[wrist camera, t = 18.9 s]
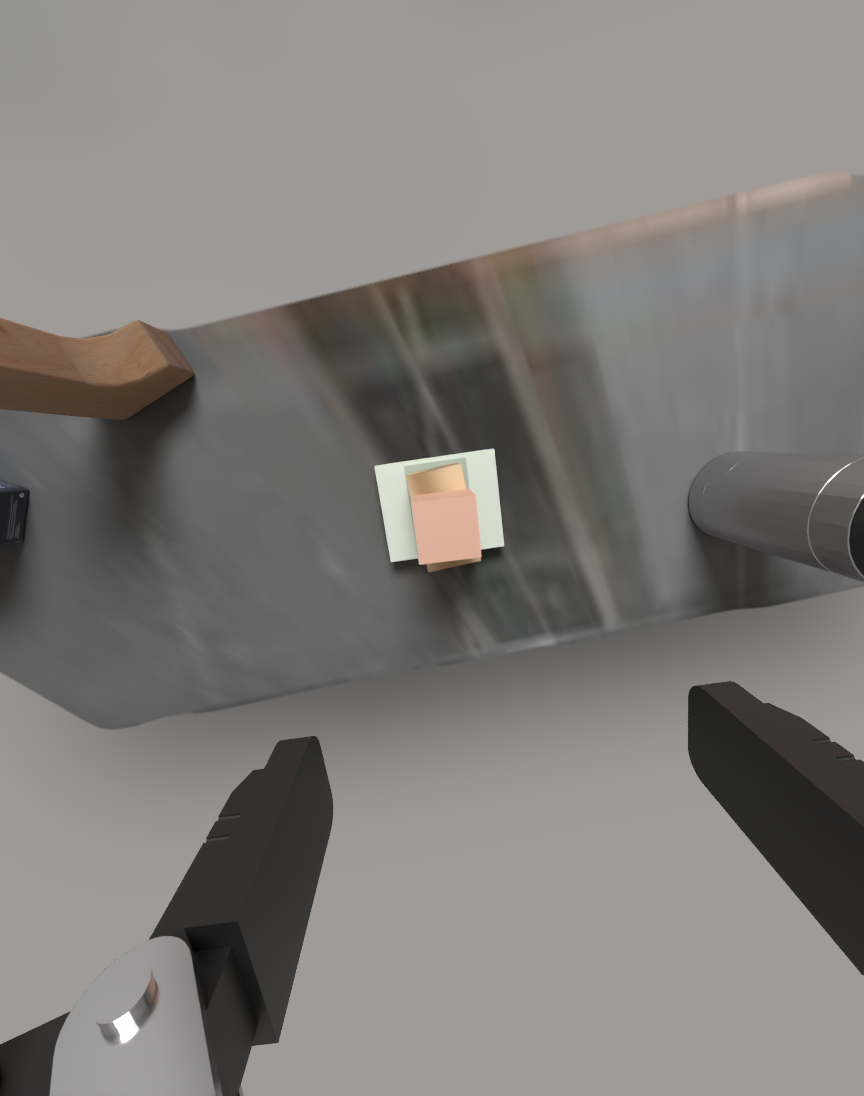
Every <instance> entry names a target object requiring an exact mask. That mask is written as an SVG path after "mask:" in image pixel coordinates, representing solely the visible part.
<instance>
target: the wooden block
mask: <svg viewBox="0 0 864 1096" xmlns="http://www.w3.org/2000/svg"><path fill="white" fill-rule="evenodd" d="M193 375H194V373H193V371H192V369H191V368H190V366H189V365H188V363H187V362H186V360H185V359H184V357H183V356H182V354H181V353H180V351H179V350H178V348H177V347H176V345H175V344H174V342H173V341H172V339H171V338H170V336H169V335H168V334H167V333H166V332H164V331H161V330H159V329H157V328H155V327H153V326H150V325H148V324H146V323H144V322H141V321H139V320H137V321H133V322H131V323H129V324H128V325H126V326H124V327H122V328H120V329H118V330H116V331H114V332H113V333H111V334H109V335H103V336H98V337H92V338H86V339H79V338H70V337H60V336H57V335H54V334H50V333H47V332H44V331H41V330H37V329H34V328H31V327H27V326H24V325H21V324H18V323H15V322H12V321H8V320H5V319H2V318H0V409H6V410H17V411H27V412H38V413H48V414H59V415H69V416H80V417H90V418H101V419H111V420H121V421H123V420H126V419H128V418H129V417H131V416H132V415H134V414H135V413H137V412H139V411H140V410H142V409H143V408H145V407H146V406H148V405H149V404H151V403H152V402H154V401H155V400H157V399H158V398H160V397H161V396H163V395H165V394H166V393H168V392H169V391H171V390H172V389H174V388H175V387H177V386H178V385H180V384H181V383H183V382H184V381H186V380H187V379H189V378H190V377H192V376H193Z"/></svg>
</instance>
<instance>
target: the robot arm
mask: <svg viewBox="0 0 864 1096" xmlns="http://www.w3.org/2000/svg"><path fill="white" fill-rule="evenodd" d="M689 511H690V514H691V517H692V519H693V521H694V522H695V524H696V526H697V527H698V528H699V529H701V530H702V531H703V532H704V533H706V534H708V535H710V536H713V537H716V538H720V539H723V540H726V541H729V542H733V543H736V544H739V545H742V546H745V547H748V548H752V549H755V550H758V551H762V552H765V553H768V554H772V555H775V556H778V557H782V558H785V559H788V560H791V561H795V562H798V563H801V564H805V565H808V566H811V567H815V568H818V569H821V570H825V571H828V572H831V573H834V574H838V575H842V576H845V577H848V578H852V579H855V580H858V581H862V582H864V453H773V452H735V453H728V454H725V455H723V456H720V457H718V458H716V459H714V460H713V461H711V462H710V463H709V464H708V465H706V466H705V467H704V468H703V469H702V470H701V472H700V473H699V474H698V475H697V477H696V479H695V481H694V482H693V484H692V488H691V491H690V495H689ZM688 751H689V756H690V760H691V763H692V765H693V768H694V770H695V772H696V774H697V776H698V777H699V779H700V780H701V782H702V783H703V784H704V785H705V787H706V788H707V789H708V790H709V791H710V793H711V794H712V795H713V796H714V797H715V799H716V800H717V801H718V802H719V803H720V804H721V806H722V807H723V808H724V809H725V810H726V812H727V813H728V814H729V815H730V816H731V818H732V819H733V820H734V821H735V823H736V824H737V825H738V826H739V827H740V829H741V830H742V831H743V832H744V833H745V835H746V836H747V837H748V838H749V839H750V841H751V842H752V843H753V844H754V845H755V847H756V848H757V849H758V850H759V851H760V853H761V854H762V855H763V856H764V857H765V858H766V860H767V861H768V862H769V863H770V865H771V866H772V867H773V868H774V869H775V870H776V872H777V873H778V874H779V875H780V877H781V878H782V879H783V880H784V881H785V883H786V884H787V885H788V886H789V887H790V889H791V890H792V891H793V892H794V893H795V895H796V896H797V897H798V898H799V899H800V901H801V902H802V903H803V904H804V905H805V907H806V908H807V909H808V910H809V911H810V913H811V914H812V915H813V916H814V917H815V919H816V920H817V921H818V922H819V923H820V925H821V926H822V927H823V928H824V929H825V931H826V932H827V933H828V934H829V935H830V936H831V938H832V939H833V940H834V941H835V943H836V944H837V945H838V946H839V947H840V949H841V950H842V951H843V952H844V953H845V955H846V956H847V957H848V958H849V959H850V961H851V962H852V963H853V964H854V965H855V967H856V968H857V969H858V970H859V971H860V973H861V974H862V975H864V762H863V761H861V760H856V759H855V758H854V755H853V754H851V753H850V752H849V751H847V750H846V749H844V748H843V747H842V746H840V745H839V744H837V743H836V742H831V741H830V739H829V737H828V736H826V735H825V734H823V733H822V732H821V731H819V730H818V729H816V728H815V727H814V726H812V725H811V724H809V723H808V722H806V721H805V720H804V719H802V718H800V717H798V716H796V715H794V714H792V713H789V712H787V711H785V710H783V709H780V708H778V707H776V706H774V705H772V704H769V703H765V704H764V703H762V702H761V701H760V700H758V699H757V698H756V697H754V696H753V695H751V694H750V693H749V692H748V691H746V690H745V689H744V688H742V687H741V686H740V685H738V684H736V683H734V682H730V681H729V682H721V683H714V684H706V685H699V686H693V687H692V688H691V689H690V691H689V696H688ZM332 819H333V799H332V793H331V789H330V784H329V780H328V776H327V772H326V767H325V763H324V759H323V755H322V751H321V746H320V743H319V740H318V738H317V737H316V736H310V737H303V738H296V739H288V740H281V741H279V742H278V743H277V745H276V746H275V748H274V750H273V752H272V754H271V756H270V758H269V760H268V763H267V764H266V766H265V768H264V769H259V770H254V771H252V772H251V773H250V774H249V775H248V776H247V777H246V779H245V780H243V782H241V784H240V785H239V786H238V787H237V788H236V789H235V790H234V791H233V792H232V793H231V795H230V797H229V799H228V800H227V802H226V804H225V806H224V808H223V809H222V811H221V813H220V815H219V819H218V821H216V822H215V823H214V825H213V827H212V829H211V831H210V832H209V834H208V836H207V841H206V843H203V845H202V847H201V848H200V850H199V852H198V854H197V855H196V857H195V859H194V861H193V863H192V864H191V866H190V868H189V870H188V871H187V873H186V875H185V877H184V879H183V880H182V882H181V884H180V886H179V887H178V889H177V891H176V893H175V895H174V896H173V898H172V900H171V902H170V903H169V905H168V907H167V909H166V910H165V912H164V914H163V916H162V918H161V919H160V921H159V923H158V925H157V926H156V928H155V930H154V932H153V934H152V935H151V937H150V939H149V940H147V941H145V942H143V943H141V944H139V945H137V946H135V947H134V948H132V949H130V950H129V951H127V952H126V953H124V954H123V955H122V956H120V957H119V958H118V959H116V960H115V961H114V962H113V963H111V964H110V965H109V966H108V967H107V968H106V969H105V970H104V971H103V972H102V973H101V974H100V975H99V976H98V977H97V978H96V979H95V980H94V981H93V982H92V983H91V984H90V986H89V987H88V988H87V989H86V990H85V991H84V993H83V994H82V996H81V997H80V998H79V1000H78V1001H77V1002H76V1004H75V1005H74V1007H73V1009H72V1011H70V1012H68V1013H66V1014H64V1015H62V1016H60V1017H58V1018H55V1019H53V1020H51V1021H49V1022H47V1023H45V1024H43V1025H41V1026H39V1027H37V1028H35V1029H32V1030H30V1031H28V1032H26V1033H24V1034H22V1035H20V1036H17V1037H15V1038H13V1039H11V1040H9V1041H7V1042H5V1043H3V1044H0V1096H244V1095H243V1091H242V1088H241V1082H242V1078H243V1075H244V1071H245V1068H246V1064H247V1061H248V1057H249V1054H250V1050H251V1047H252V1046H255V1045H264V1044H272V1043H278V1042H279V1037H280V1034H281V1030H282V1026H283V1021H284V1017H285V1013H286V1009H287V1005H288V1001H289V997H290V993H291V989H292V985H293V981H294V977H295V973H296V969H297V964H298V961H299V957H300V953H301V949H302V945H303V941H304V936H305V932H306V929H307V924H308V920H309V916H310V912H311V908H312V904H313V900H314V896H315V892H316V888H317V884H318V880H319V876H320V872H321V868H322V864H323V860H324V856H325V852H326V848H327V844H328V840H329V836H330V831H331V827H332Z"/></svg>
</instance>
